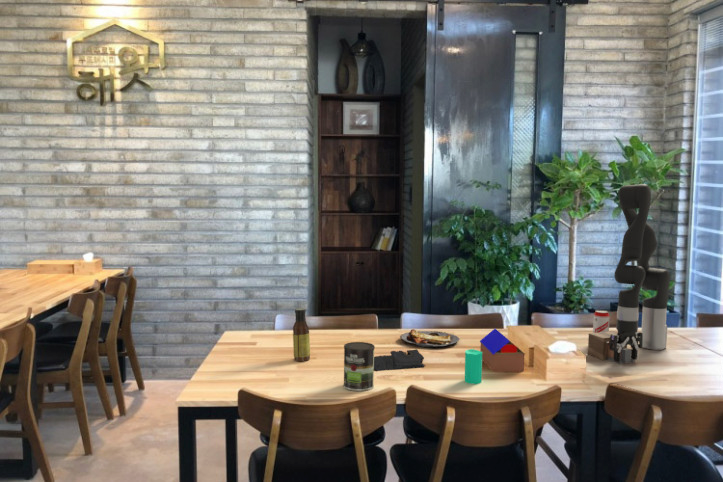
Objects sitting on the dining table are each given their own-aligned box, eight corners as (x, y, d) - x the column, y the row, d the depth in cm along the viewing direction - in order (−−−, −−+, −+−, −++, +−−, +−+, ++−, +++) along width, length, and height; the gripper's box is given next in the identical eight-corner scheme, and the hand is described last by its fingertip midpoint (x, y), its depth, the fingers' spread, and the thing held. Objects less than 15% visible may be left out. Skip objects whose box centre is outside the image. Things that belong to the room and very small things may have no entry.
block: (610, 354, 266) (611, 342, 266) (620, 358, 262) (621, 345, 261) (601, 356, 264) (601, 343, 264) (610, 359, 260) (611, 346, 259)
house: (492, 372, 247) (493, 341, 246) (479, 357, 267) (480, 328, 266) (525, 372, 248) (526, 340, 247) (509, 357, 268) (510, 328, 267)
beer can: (609, 351, 277) (611, 313, 275) (593, 350, 278) (594, 312, 276) (606, 347, 283) (608, 310, 281) (591, 347, 284) (592, 309, 282)
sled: (605, 354, 270) (606, 340, 269) (634, 364, 257) (635, 348, 256) (592, 356, 267) (593, 341, 266) (620, 366, 254) (621, 350, 253)
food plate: (392, 344, 284) (393, 336, 284) (409, 333, 306) (410, 325, 305) (450, 352, 275) (451, 344, 275) (464, 340, 296) (464, 332, 296)
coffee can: (367, 393, 222) (368, 350, 221) (338, 389, 226) (339, 347, 224) (378, 384, 232) (378, 343, 230) (350, 380, 235) (350, 340, 234)
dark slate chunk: (360, 361, 260) (360, 349, 260) (414, 357, 267) (414, 345, 266) (373, 373, 246) (373, 360, 245) (429, 368, 252) (429, 356, 252)
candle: (462, 378, 238) (463, 345, 237) (479, 378, 239) (480, 345, 238) (466, 384, 232) (467, 349, 231) (483, 383, 233) (484, 349, 232)
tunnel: (610, 355, 271) (611, 330, 270) (626, 360, 264) (627, 335, 263) (587, 358, 266) (588, 333, 265) (602, 363, 259) (603, 338, 258)
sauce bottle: (312, 358, 262) (312, 308, 260) (306, 362, 256) (306, 311, 254) (297, 357, 264) (297, 306, 262) (290, 361, 258) (290, 309, 256)
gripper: (633, 314, 261) (631, 356, 262) (605, 317, 255) (603, 359, 256) (649, 318, 254) (647, 361, 255) (620, 321, 248) (618, 365, 250)
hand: (625, 360), depth 256 cm, fingers open, 8 cm apart
